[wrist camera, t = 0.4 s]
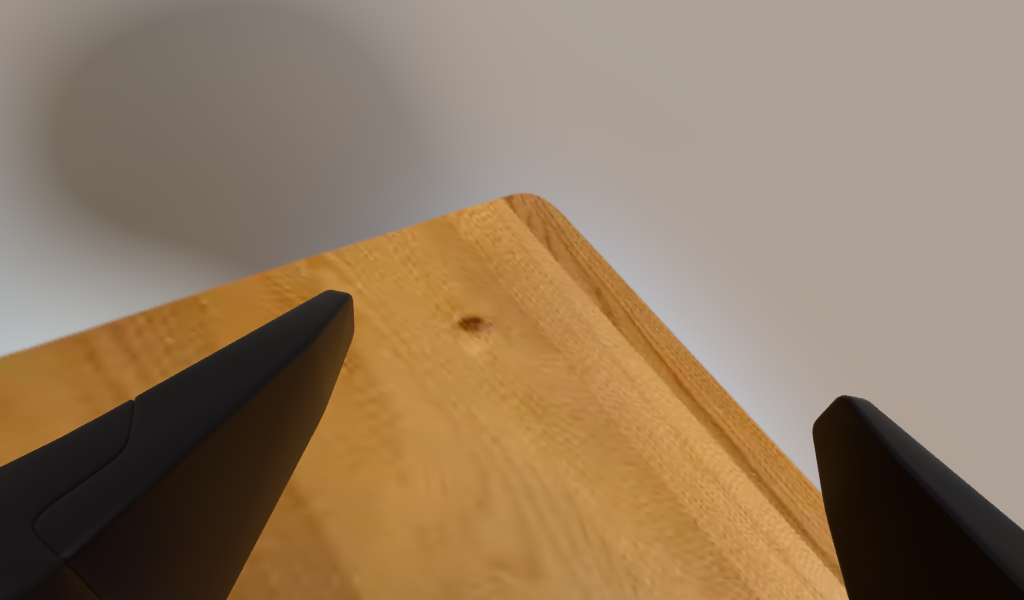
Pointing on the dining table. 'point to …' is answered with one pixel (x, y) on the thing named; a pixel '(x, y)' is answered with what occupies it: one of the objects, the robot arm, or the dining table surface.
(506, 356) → the dining table surface
